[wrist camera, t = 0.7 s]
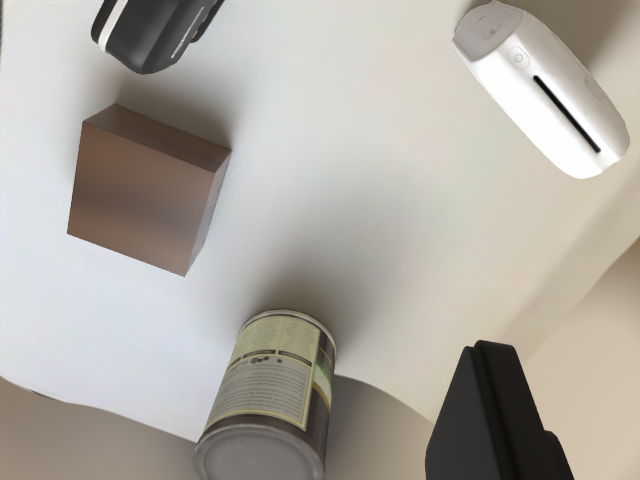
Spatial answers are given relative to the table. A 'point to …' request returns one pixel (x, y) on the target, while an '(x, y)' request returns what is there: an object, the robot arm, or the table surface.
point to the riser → (145, 188)
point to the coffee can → (271, 403)
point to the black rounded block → (151, 30)
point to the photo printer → (542, 88)
